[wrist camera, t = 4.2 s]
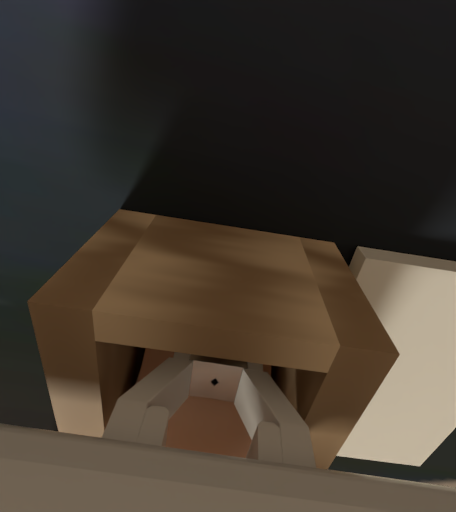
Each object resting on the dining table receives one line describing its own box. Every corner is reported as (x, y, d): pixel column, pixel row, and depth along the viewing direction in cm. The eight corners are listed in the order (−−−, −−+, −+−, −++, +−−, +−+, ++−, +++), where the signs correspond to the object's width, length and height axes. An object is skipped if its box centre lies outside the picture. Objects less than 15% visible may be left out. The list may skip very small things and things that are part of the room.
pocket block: (126, 421, 20) (85, 542, 14) (119, 209, 12) (27, 301, 7) (261, 438, 20) (267, 563, 15) (334, 242, 12) (400, 354, 7)
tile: (97, 608, 10) (68, 668, 8) (166, 302, 15) (161, 282, 13) (242, 623, 10) (257, 686, 8) (261, 315, 16) (274, 298, 13)
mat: (279, 432, 19) (281, 448, 19) (357, 246, 13) (365, 258, 12) (411, 449, 20) (419, 466, 19) (559, 277, 13) (582, 291, 12)
